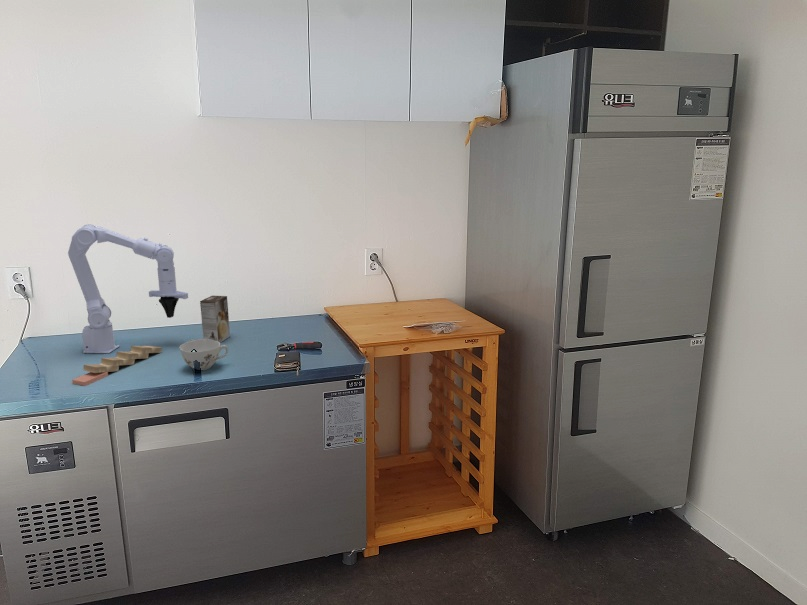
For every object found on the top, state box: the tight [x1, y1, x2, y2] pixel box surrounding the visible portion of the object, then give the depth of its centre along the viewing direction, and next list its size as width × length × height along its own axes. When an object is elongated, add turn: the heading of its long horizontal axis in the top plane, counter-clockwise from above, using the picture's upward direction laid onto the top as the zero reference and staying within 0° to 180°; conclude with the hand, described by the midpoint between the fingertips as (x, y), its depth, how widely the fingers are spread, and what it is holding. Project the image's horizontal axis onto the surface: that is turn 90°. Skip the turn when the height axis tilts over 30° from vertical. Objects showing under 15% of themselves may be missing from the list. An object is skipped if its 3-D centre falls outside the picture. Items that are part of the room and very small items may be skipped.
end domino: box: [71, 372, 109, 387], centre depth 193 cm, size 2×5×9 cm
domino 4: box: [130, 345, 163, 354], centre depth 215 cm, size 2×5×9 cm
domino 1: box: [82, 363, 120, 373], centre depth 197 cm, size 2×5×9 cm
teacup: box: [179, 338, 229, 371], centre depth 203 cm, size 15×12×8 cm
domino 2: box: [100, 356, 136, 366], centre depth 203 cm, size 2×5×9 cm
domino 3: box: [116, 350, 150, 360], centre depth 209 cm, size 2×5×9 cm
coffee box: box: [199, 295, 231, 344], centre depth 231 cm, size 9×6×16 cm
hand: (170, 316), depth 224 cm, fingers closed
